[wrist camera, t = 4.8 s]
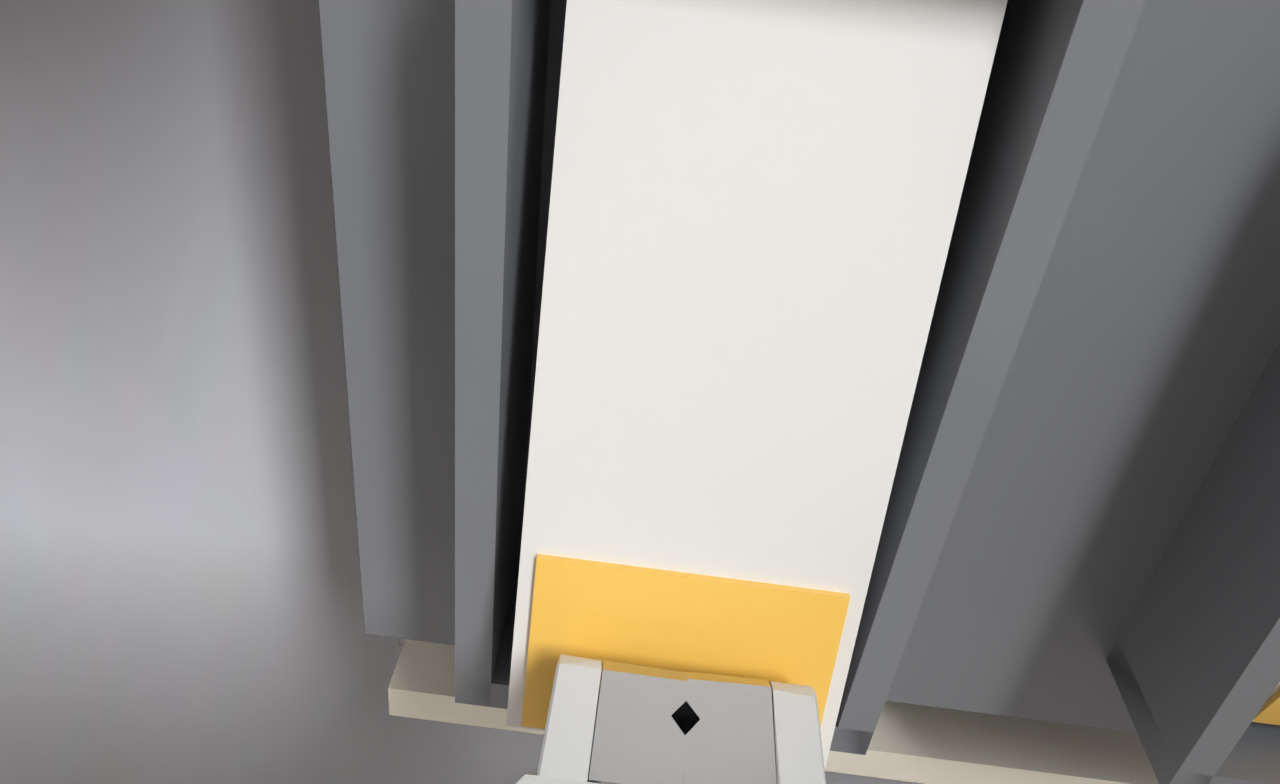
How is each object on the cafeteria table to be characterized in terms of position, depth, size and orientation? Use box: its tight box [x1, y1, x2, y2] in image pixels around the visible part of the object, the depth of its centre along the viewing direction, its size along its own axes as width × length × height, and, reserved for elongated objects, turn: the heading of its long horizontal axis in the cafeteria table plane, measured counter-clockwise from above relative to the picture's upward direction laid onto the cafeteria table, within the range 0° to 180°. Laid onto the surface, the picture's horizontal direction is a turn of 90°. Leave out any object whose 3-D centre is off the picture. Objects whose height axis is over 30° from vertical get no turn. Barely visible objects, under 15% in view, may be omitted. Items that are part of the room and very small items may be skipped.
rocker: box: [506, 0, 1008, 767], centre depth 11 cm, size 9×4×1 cm, turn 173°
